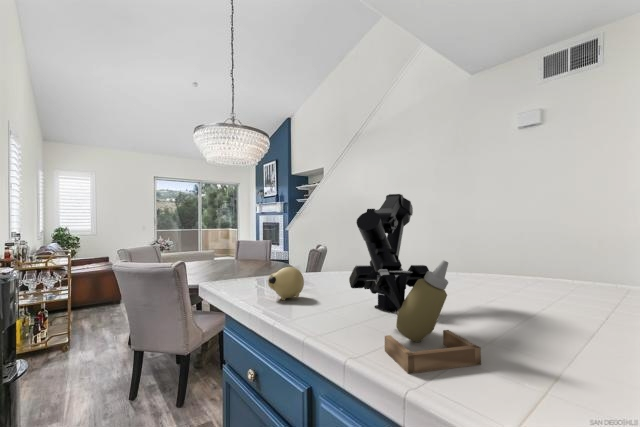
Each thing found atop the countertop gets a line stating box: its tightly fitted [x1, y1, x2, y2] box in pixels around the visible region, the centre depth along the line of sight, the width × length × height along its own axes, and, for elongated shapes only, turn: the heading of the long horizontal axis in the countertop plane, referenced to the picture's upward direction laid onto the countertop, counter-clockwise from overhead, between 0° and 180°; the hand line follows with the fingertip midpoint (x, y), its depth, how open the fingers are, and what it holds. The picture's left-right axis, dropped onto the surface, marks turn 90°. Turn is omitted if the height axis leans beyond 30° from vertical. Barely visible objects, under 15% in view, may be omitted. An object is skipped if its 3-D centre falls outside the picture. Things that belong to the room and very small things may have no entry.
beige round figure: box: [267, 266, 305, 301], centre depth 101 cm, size 10×12×11 cm
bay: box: [384, 329, 482, 374], centre depth 57 cm, size 9×14×3 cm, turn 103°
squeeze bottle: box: [396, 259, 449, 343], centre depth 64 cm, size 8×8×18 cm
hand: (401, 309), depth 66 cm, fingers closed, pressing on squeeze bottle
